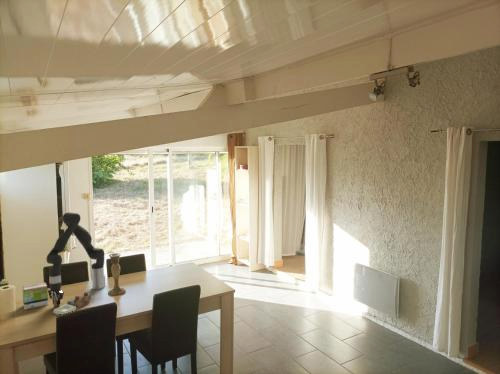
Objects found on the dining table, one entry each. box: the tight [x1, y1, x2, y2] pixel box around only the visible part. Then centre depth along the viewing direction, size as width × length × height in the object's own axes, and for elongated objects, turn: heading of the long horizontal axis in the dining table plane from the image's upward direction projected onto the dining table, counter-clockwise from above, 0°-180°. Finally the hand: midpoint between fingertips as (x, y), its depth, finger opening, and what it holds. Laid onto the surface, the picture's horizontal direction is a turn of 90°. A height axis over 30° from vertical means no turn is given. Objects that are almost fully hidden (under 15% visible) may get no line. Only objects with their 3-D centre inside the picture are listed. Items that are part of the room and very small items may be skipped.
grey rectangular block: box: [67, 295, 81, 306], centre depth 268 cm, size 10×7×4 cm
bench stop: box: [74, 291, 91, 310], centre depth 266 cm, size 12×3×8 cm, turn 157°
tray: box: [53, 303, 77, 315], centre depth 255 cm, size 10×10×3 cm
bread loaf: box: [52, 295, 61, 309], centre depth 262 cm, size 4×4×9 cm
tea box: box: [22, 282, 49, 310], centre depth 266 cm, size 15×10×15 cm
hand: (56, 304), depth 262 cm, fingers closed on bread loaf, 3 cm apart
